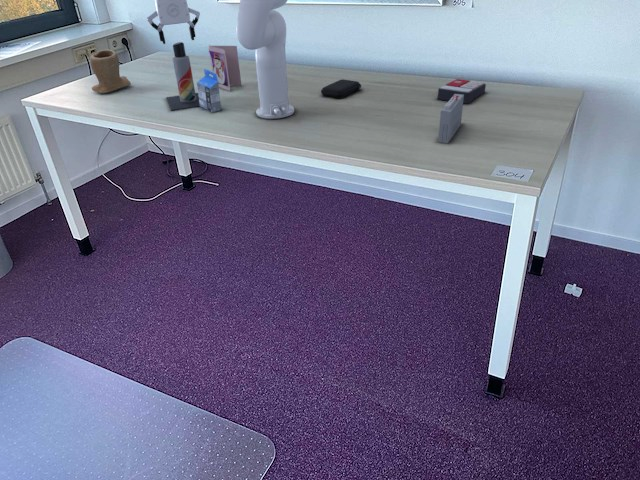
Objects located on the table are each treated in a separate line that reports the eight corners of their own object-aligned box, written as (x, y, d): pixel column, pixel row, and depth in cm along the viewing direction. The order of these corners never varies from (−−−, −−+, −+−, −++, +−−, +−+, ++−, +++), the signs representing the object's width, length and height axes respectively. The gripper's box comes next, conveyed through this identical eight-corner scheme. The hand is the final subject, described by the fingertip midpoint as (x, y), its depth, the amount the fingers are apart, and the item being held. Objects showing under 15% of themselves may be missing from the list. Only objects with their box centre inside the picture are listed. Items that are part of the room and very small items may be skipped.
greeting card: (212, 86, 204) (206, 46, 196) (228, 81, 208) (223, 42, 200) (228, 91, 197) (222, 50, 189) (244, 87, 201) (239, 46, 193)
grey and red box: (486, 81, 180) (469, 90, 169) (484, 94, 182) (467, 104, 171) (456, 77, 185) (438, 86, 175) (455, 89, 188) (436, 99, 177)
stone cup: (105, 97, 197) (94, 56, 189) (88, 92, 204) (77, 52, 196) (139, 87, 207) (130, 48, 199) (122, 83, 214) (113, 44, 206)
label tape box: (199, 106, 182) (193, 70, 175) (209, 103, 184) (204, 68, 177) (212, 112, 176) (206, 76, 169) (222, 109, 178) (217, 73, 171)
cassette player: (451, 123, 157) (454, 90, 152) (460, 124, 156) (464, 91, 151) (438, 142, 146) (441, 106, 140) (447, 143, 145) (451, 107, 139)
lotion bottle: (192, 103, 185) (182, 44, 174) (177, 102, 186) (166, 44, 175) (198, 98, 190) (189, 40, 179) (184, 97, 191) (173, 40, 180)
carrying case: (343, 100, 181) (365, 89, 191) (343, 91, 179) (365, 81, 189) (318, 96, 186) (341, 85, 196) (318, 87, 185) (341, 77, 195)
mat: (211, 105, 184) (211, 103, 183) (171, 111, 180) (171, 109, 180) (204, 93, 196) (204, 91, 196) (166, 98, 193) (166, 97, 192)
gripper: (140, -11, 163) (153, 46, 172) (196, -16, 167) (205, 40, 176) (139, -13, 169) (151, 42, 178) (192, -18, 173) (202, 36, 182)
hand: (178, 41), depth 177 cm, fingers open, 9 cm apart
